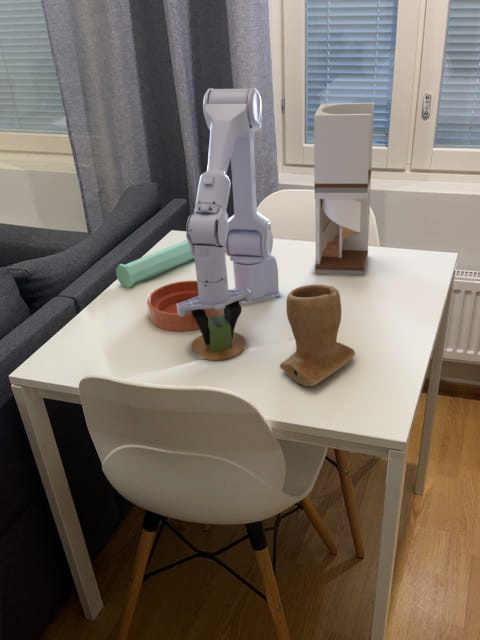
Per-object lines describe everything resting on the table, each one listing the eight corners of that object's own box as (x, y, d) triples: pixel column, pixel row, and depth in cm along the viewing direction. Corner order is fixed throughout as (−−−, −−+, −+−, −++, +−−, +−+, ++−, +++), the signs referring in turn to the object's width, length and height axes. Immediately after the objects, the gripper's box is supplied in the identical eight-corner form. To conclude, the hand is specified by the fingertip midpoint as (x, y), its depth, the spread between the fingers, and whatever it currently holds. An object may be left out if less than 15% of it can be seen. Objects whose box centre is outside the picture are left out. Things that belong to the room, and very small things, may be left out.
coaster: (235, 329, 145) (235, 326, 144) (254, 353, 136) (253, 350, 136) (185, 340, 142) (184, 338, 142) (200, 366, 134) (200, 363, 133)
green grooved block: (224, 336, 141) (222, 312, 138) (232, 347, 137) (230, 323, 134) (205, 341, 140) (202, 317, 137) (212, 352, 136) (209, 327, 133)
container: (195, 228, 176) (116, 259, 162) (211, 242, 174) (132, 274, 160) (191, 247, 181) (114, 279, 167) (206, 260, 179) (130, 293, 165)
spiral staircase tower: (315, 274, 164) (314, 115, 143) (321, 256, 172) (321, 103, 151) (363, 275, 161) (370, 114, 141) (367, 257, 170) (374, 102, 149)
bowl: (211, 293, 159) (209, 275, 157) (234, 323, 147) (233, 304, 144) (142, 308, 156) (139, 289, 153) (160, 340, 143) (157, 320, 140)
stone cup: (313, 340, 139) (313, 270, 130) (363, 359, 132) (366, 286, 123) (263, 373, 130) (259, 300, 121) (313, 394, 123) (313, 319, 114)
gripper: (180, 292, 125) (188, 357, 134) (255, 276, 129) (259, 340, 137) (170, 277, 131) (179, 341, 139) (242, 263, 134) (247, 325, 142)
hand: (218, 340), depth 138 cm, fingers closed on green grooved block, 4 cm apart
